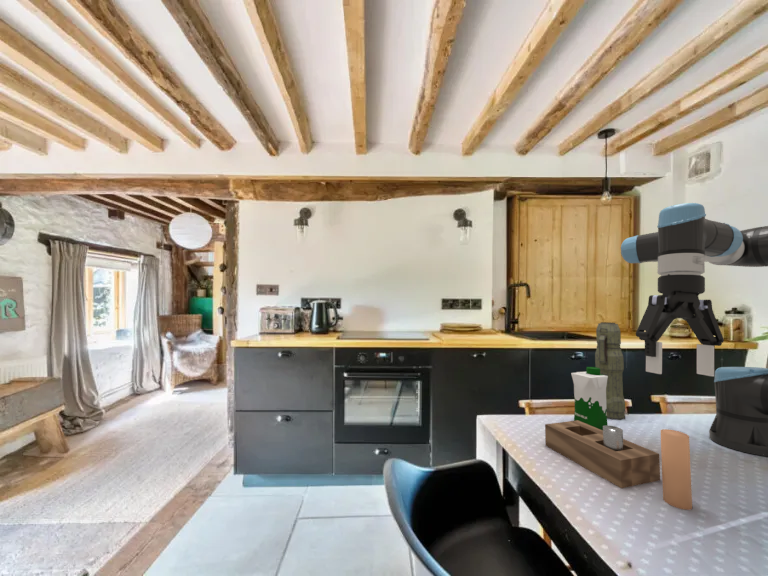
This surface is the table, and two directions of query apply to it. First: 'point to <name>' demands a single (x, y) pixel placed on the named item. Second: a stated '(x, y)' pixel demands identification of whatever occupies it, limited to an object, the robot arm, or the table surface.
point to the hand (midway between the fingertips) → (679, 374)
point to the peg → (676, 469)
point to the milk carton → (590, 397)
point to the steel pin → (613, 437)
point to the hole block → (603, 454)
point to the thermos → (611, 367)
